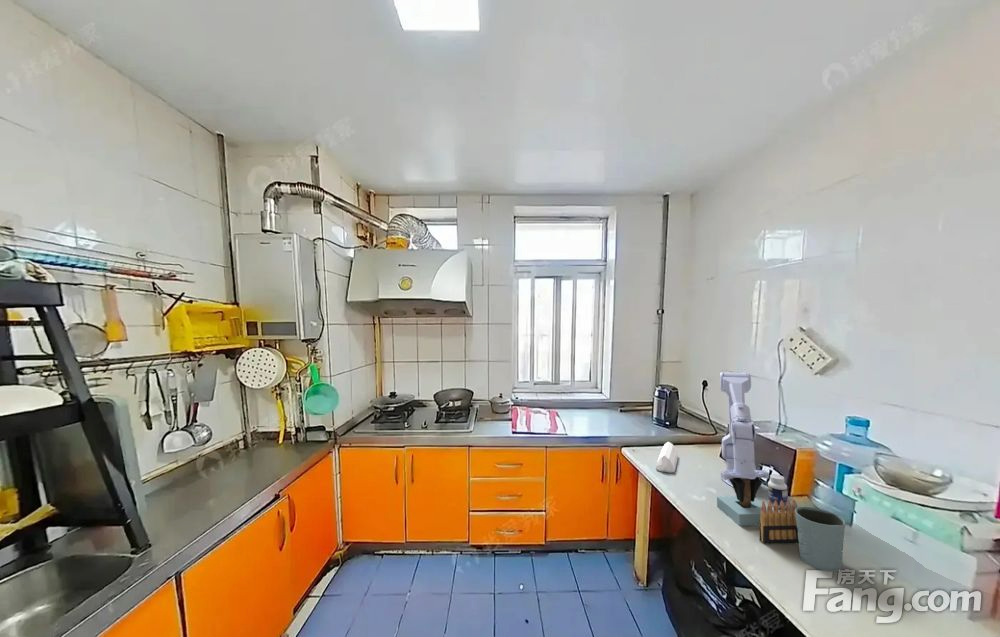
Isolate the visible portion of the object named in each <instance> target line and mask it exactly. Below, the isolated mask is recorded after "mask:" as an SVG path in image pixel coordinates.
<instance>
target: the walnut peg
mask: <svg viewBox="0 0 1000 637" xmlns="http://www.w3.org/2000/svg"><path fill="white" fill-rule="evenodd" d="M741 480H742V482H744V483H745V486H744V491H743V497H744V500H743V502H740V506H741V507H743V508H751V486H750V480H749V479H747V478H742V479H741Z"/></svg>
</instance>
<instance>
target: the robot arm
mask: <svg viewBox="0 0 1000 637" xmlns="http://www.w3.org/2000/svg"><path fill="white" fill-rule="evenodd" d="M719 387H720V391H721V392H723V393H726V396H727V401H728V403H727V404H728V427H729V428H728V430H729V433H728V434H726V435H725V436H723V437H722V438H721V455H722V458H723V459H724V460H725V466H726V470H725V471H720V478H721V480H722V481H723V482H724V483H726V484H727V485H729V486H730V487H732V488H733V491H734V492H735V496H737V500H739V501H740V502H743V500H744V497H743V491H744V486H745V483H744V482H742V480H741V479H742V478H747V479H749V480H750V486H751V501H752V502H754V499H755V498H756V497H757V496H756V495H757V493H758V490H759V489H760V487H761V485H762V484H763V481H762V480H761V479H763V478H764V479H770V475H769V472H768V471H767V470H764V469H762V470H761V469H757V467H756V464H755V442H754V441H756V437H757V436H756V435H757V432H756V425H755V423H754V421H753V420H754V419H752V416H751V408H750V407H749V406H748V405H747V404H746V403H745V396H746V395H745V394H747V393H749V391H750V390H751V388H752V377H751V373H749V372H723V371H721V372H720V373H719Z"/></svg>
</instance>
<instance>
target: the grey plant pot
mask: <svg viewBox="0 0 1000 637" xmlns="http://www.w3.org/2000/svg"><path fill="white" fill-rule="evenodd" d="M795 516H796V523H797V528H798V540H799V544H798V550H799V551H798V552H799V557H800V559H801V560H802V561H803V563H805V564H807V565H808V566H810V567H813V568H815V569H817V570H821V571H825V572H840V571H841V570H842V567H843V559H844V558H843V557H844V555H843V553H844V552H843V551H844V542H845V541H844V539H845V529H846V521H845V520H844V518H843V517H842V516H839V515H838V514H836V513H834V512H832V511H829V510H826V509H821V508H818V507H811V506H800V507H799V506H797V508H796V509H795ZM839 570H840V571H839Z"/></svg>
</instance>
